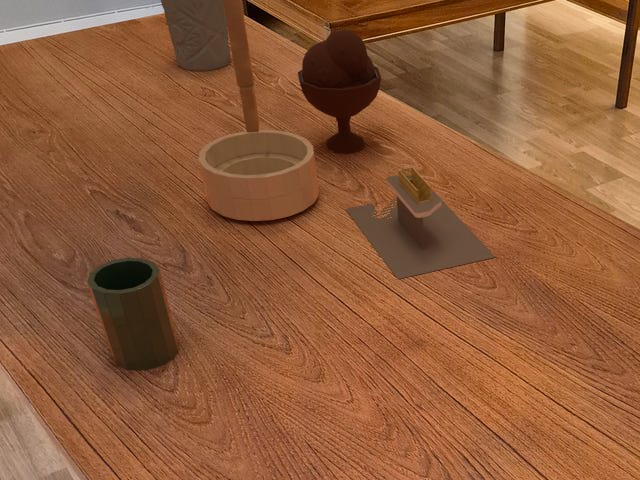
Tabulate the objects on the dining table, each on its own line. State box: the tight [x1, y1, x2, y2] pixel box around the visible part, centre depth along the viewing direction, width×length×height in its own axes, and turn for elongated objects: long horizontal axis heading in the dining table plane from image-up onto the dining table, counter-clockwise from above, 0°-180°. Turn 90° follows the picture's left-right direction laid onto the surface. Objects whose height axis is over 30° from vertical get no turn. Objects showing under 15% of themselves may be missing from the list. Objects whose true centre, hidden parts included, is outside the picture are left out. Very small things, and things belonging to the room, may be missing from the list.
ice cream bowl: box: [297, 29, 382, 154], centre depth 118 cm, size 11×11×15 cm
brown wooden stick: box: [223, 0, 260, 133], centre depth 97 cm, size 2×3×24 cm, turn 9°
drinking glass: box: [160, 0, 232, 72], centre depth 142 cm, size 10×10×12 cm
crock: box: [86, 257, 180, 371], centre depth 84 cm, size 6×6×9 cm
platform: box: [345, 166, 496, 280], centre depth 103 cm, size 12×18×7 cm, turn 25°
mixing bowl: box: [198, 129, 320, 222], centre depth 109 cm, size 14×14×6 cm
